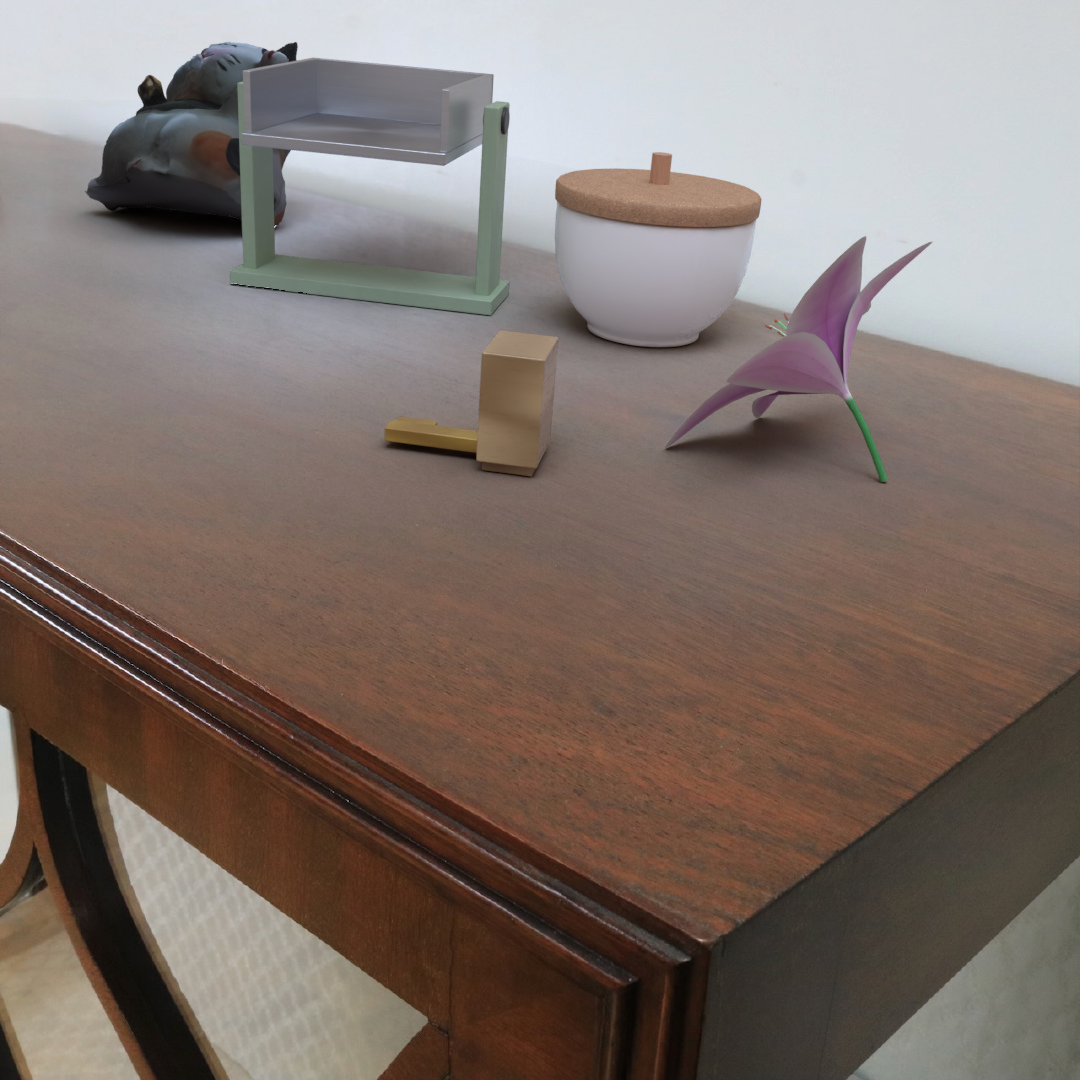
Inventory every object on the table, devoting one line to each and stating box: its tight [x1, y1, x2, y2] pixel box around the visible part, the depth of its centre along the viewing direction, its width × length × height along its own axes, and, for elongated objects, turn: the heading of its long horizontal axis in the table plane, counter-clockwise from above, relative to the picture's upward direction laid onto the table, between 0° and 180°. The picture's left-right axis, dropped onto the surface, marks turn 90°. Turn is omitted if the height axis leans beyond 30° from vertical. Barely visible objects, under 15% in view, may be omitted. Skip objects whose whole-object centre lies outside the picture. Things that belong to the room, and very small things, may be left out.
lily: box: [664, 235, 933, 483], centre depth 50 cm, size 12×12×10 cm
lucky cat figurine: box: [84, 41, 299, 226], centre depth 83 cm, size 15×12×14 cm
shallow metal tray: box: [242, 57, 495, 167], centre depth 71 cm, size 19×11×4 cm, turn 170°
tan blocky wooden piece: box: [383, 330, 559, 477], centre depth 48 cm, size 6×3×5 cm, turn 80°
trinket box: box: [554, 151, 762, 348], centre depth 65 cm, size 11×11×9 cm
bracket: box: [229, 82, 511, 316], centre depth 69 cm, size 5×15×11 cm, turn 80°
